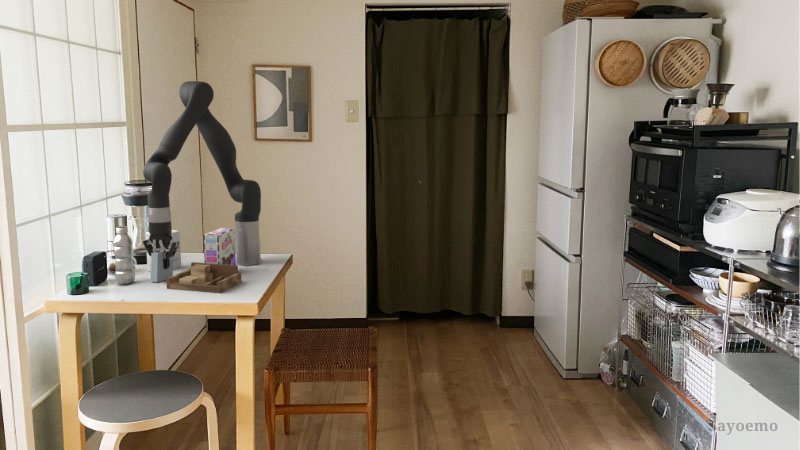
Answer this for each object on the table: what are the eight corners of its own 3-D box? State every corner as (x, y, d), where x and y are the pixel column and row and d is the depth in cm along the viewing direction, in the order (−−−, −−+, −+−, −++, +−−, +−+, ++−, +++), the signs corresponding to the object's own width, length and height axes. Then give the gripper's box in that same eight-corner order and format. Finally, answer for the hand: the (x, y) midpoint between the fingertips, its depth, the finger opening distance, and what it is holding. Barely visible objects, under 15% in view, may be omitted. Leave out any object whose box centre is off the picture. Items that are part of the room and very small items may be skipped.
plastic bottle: (140, 282, 228) (136, 226, 224) (126, 286, 221) (122, 229, 218) (125, 280, 230) (121, 225, 226) (111, 285, 223) (106, 228, 220)
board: (166, 279, 232) (167, 251, 232) (172, 279, 231) (173, 251, 231) (150, 281, 223) (151, 252, 223) (156, 282, 223) (157, 253, 222)
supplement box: (146, 271, 243) (144, 232, 240) (163, 266, 251) (161, 228, 248) (165, 273, 239) (163, 234, 237) (182, 268, 248) (180, 230, 245)
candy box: (219, 279, 232) (217, 234, 229) (204, 278, 233) (202, 233, 230) (236, 270, 245) (235, 227, 242) (222, 269, 246) (220, 227, 243)
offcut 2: (196, 272, 225) (196, 264, 224) (210, 273, 224) (209, 264, 224) (190, 275, 220) (190, 267, 220) (204, 276, 220) (204, 267, 219)
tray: (190, 281, 229) (189, 261, 228) (241, 285, 224) (240, 265, 223) (166, 291, 216) (165, 271, 214) (220, 296, 210) (219, 275, 209)
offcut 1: (187, 284, 220) (186, 276, 220) (199, 286, 219) (198, 277, 218) (179, 287, 217) (178, 279, 216) (191, 289, 215) (191, 280, 214)
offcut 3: (197, 280, 226) (197, 272, 225) (212, 281, 224) (212, 273, 224) (189, 284, 221) (188, 275, 221) (204, 285, 219) (204, 276, 219)
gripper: (183, 219, 226) (186, 267, 229) (149, 217, 230) (152, 264, 233) (170, 222, 219) (173, 272, 222) (135, 220, 223) (138, 269, 226)
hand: (162, 268), depth 227 cm, fingers closed on board, 2 cm apart
